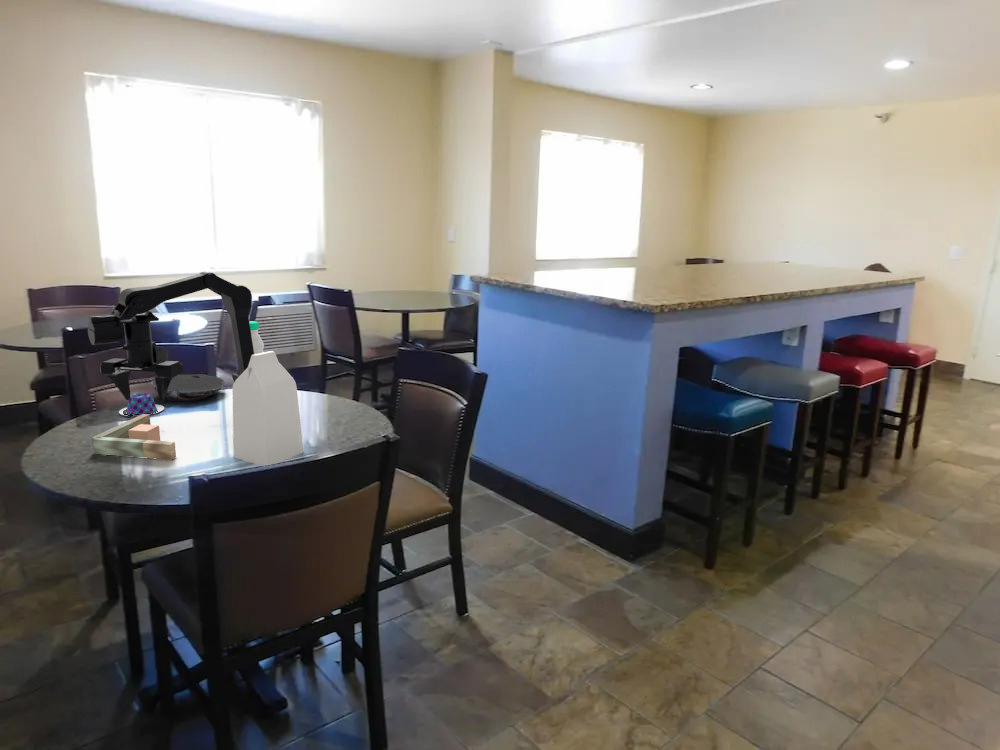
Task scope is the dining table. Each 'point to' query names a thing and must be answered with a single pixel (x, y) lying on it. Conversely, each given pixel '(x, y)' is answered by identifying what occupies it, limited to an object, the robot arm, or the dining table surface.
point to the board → (192, 387)
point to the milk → (266, 412)
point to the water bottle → (256, 338)
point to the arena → (132, 442)
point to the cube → (145, 432)
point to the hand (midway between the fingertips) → (145, 400)
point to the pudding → (141, 405)
